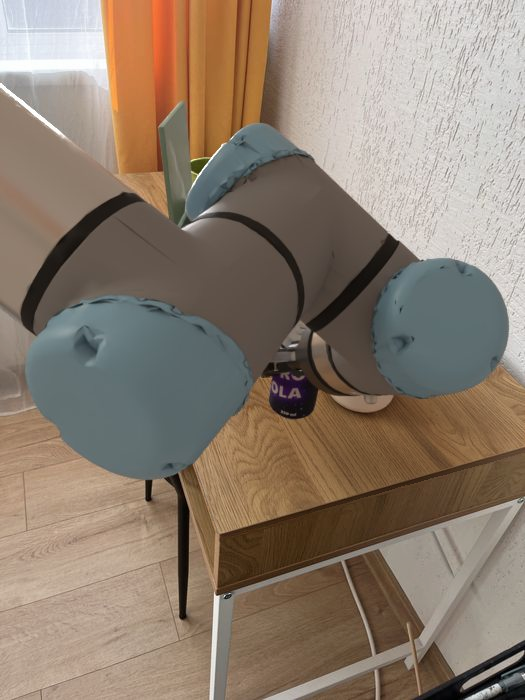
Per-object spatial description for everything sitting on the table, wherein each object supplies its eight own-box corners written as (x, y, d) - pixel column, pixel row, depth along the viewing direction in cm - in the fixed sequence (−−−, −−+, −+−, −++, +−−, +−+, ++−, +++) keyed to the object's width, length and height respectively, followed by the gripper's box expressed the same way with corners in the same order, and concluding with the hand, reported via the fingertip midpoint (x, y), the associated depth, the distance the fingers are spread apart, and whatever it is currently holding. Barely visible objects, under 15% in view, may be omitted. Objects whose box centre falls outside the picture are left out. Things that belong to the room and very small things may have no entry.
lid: (185, 100, 82) (180, 100, 82) (163, 127, 72) (158, 126, 72) (193, 195, 92) (188, 195, 92) (175, 230, 81) (170, 230, 81)
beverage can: (267, 389, 67) (278, 312, 59) (311, 392, 67) (328, 316, 59) (268, 422, 62) (280, 344, 55) (315, 425, 63) (334, 348, 55)
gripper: (241, 401, 40) (214, 399, 63) (463, 391, 44) (361, 393, 66) (237, 304, 41) (212, 337, 64) (457, 302, 44) (358, 334, 67)
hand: (288, 365), depth 65 cm, fingers closed on beverage can, 6 cm apart
